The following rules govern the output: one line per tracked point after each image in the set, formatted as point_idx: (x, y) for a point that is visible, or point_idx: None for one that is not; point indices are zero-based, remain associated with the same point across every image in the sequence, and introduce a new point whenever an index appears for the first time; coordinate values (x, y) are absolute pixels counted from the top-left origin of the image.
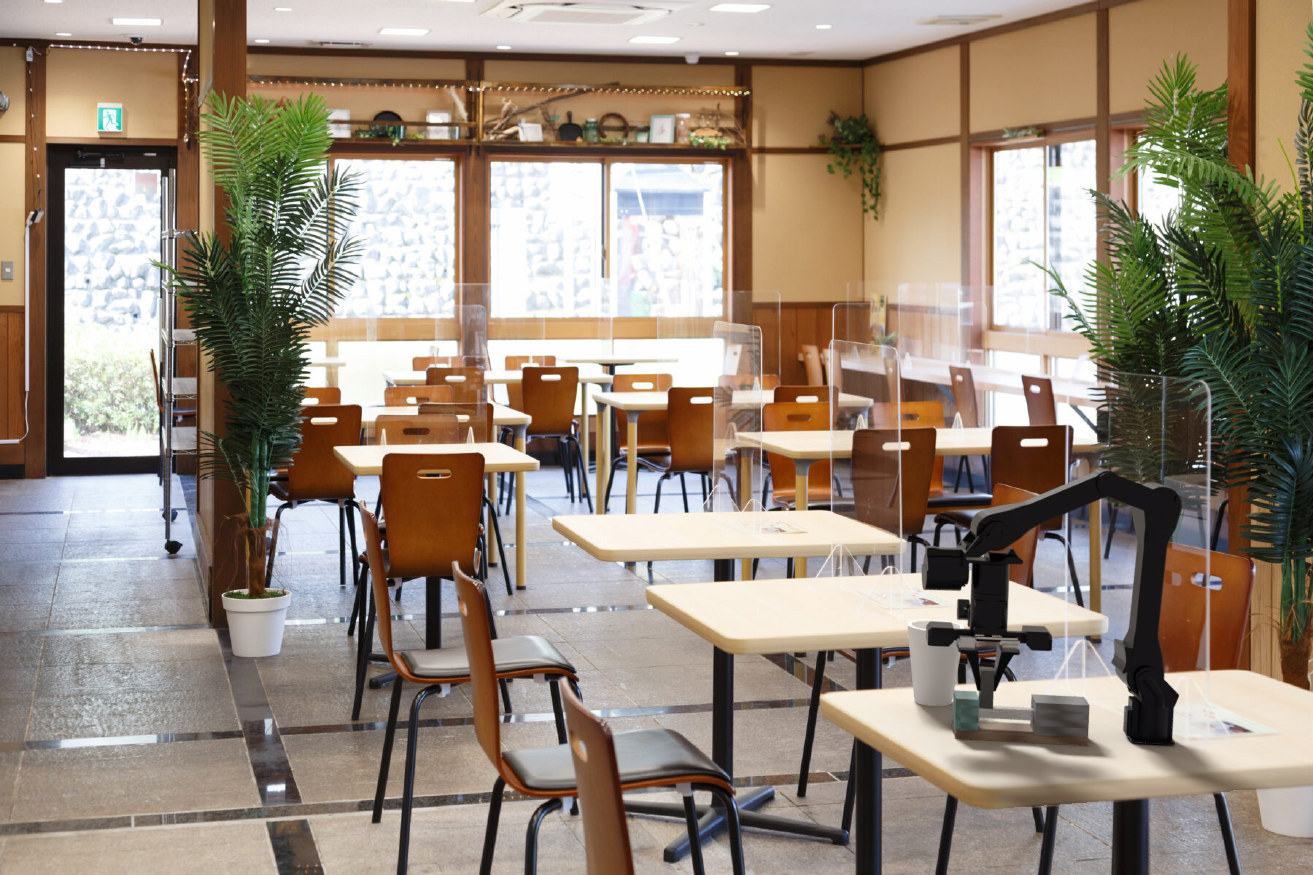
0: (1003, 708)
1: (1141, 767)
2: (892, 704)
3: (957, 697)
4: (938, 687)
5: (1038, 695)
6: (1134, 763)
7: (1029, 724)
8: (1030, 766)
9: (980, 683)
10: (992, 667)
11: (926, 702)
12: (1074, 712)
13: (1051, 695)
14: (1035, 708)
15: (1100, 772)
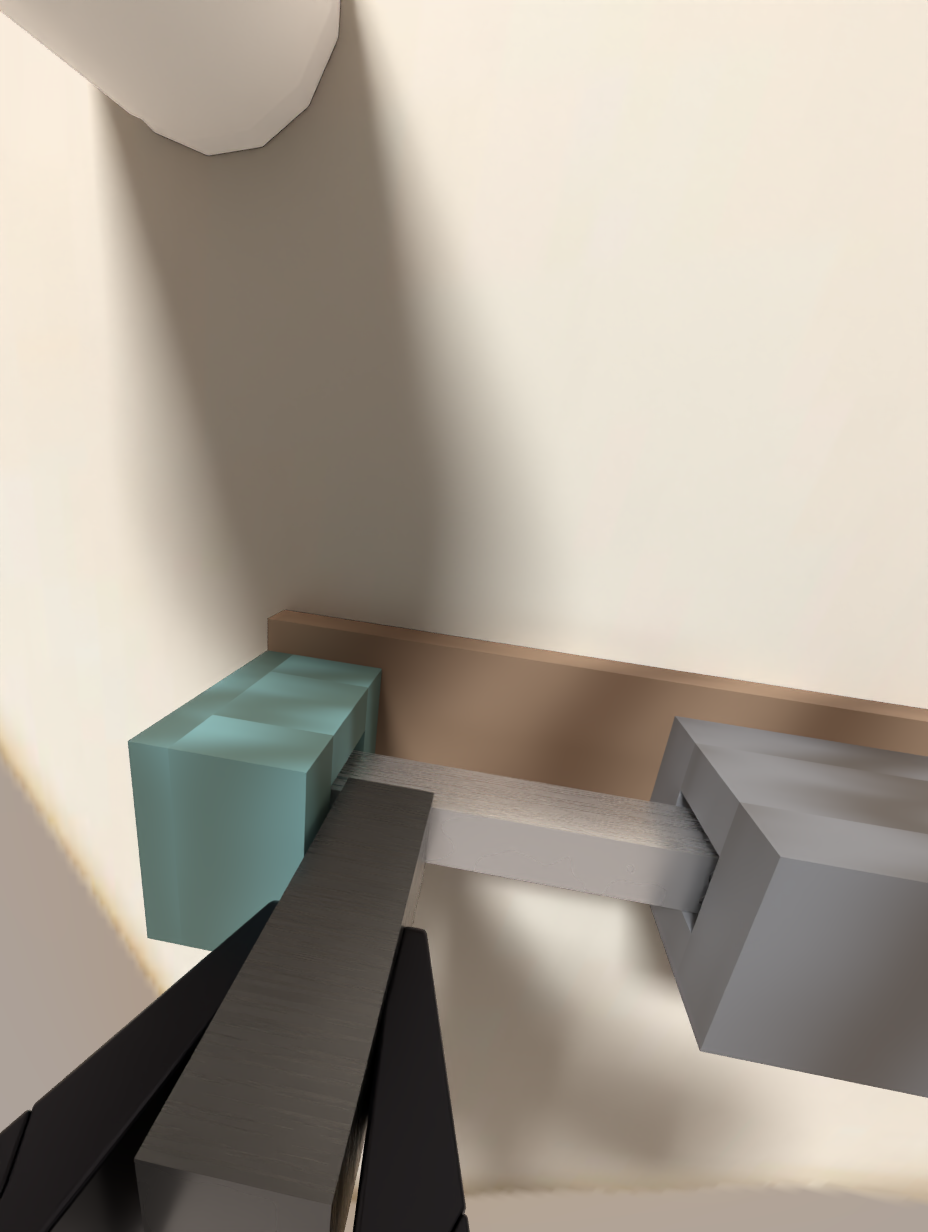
0: (496, 865)
1: (922, 1116)
2: None
3: (157, 914)
4: (122, 39)
5: (827, 891)
6: None
7: (679, 695)
8: (500, 1072)
9: None
10: (325, 1206)
11: (147, 121)
12: None
13: None
14: (683, 996)
15: (726, 1136)
